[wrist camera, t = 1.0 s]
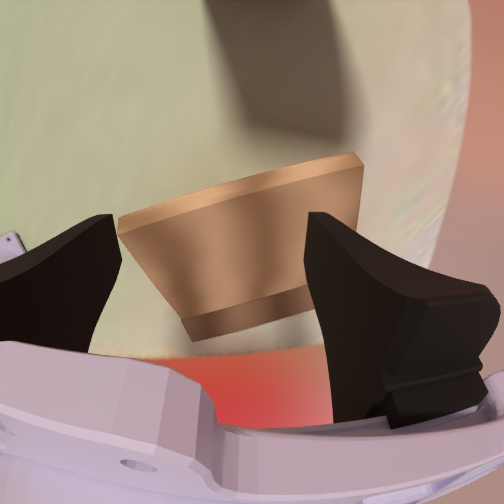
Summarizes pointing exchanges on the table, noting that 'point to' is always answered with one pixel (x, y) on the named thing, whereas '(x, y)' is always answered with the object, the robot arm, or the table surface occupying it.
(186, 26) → the table surface
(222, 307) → the oak click plank
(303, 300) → the laid walnut plank
